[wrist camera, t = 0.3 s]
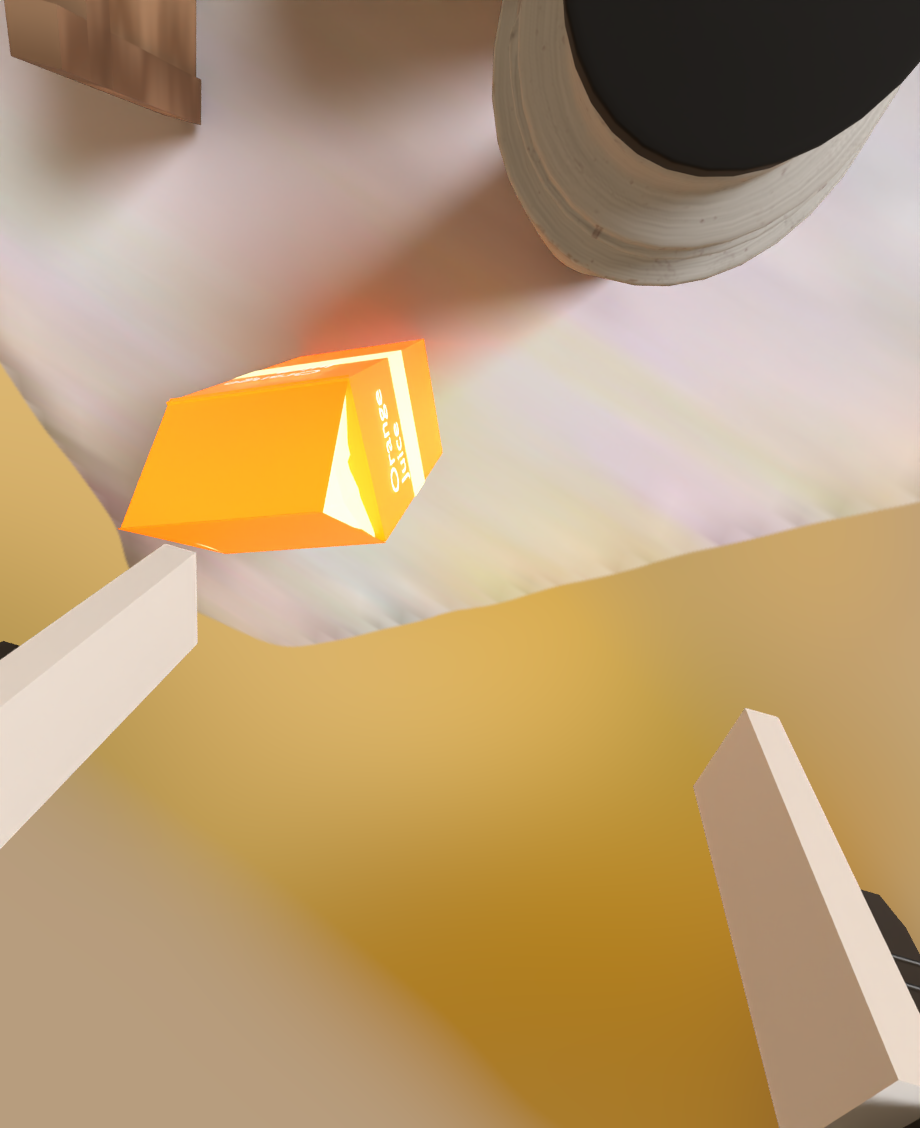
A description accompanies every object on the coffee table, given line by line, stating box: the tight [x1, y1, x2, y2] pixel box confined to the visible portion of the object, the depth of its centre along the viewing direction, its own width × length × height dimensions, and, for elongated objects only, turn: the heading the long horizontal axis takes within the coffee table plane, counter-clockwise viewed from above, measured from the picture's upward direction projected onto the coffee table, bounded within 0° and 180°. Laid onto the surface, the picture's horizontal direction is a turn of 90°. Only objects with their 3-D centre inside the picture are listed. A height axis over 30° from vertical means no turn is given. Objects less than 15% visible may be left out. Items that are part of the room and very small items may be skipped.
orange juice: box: [118, 339, 442, 554], centre depth 30 cm, size 8×9×20 cm
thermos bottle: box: [492, 0, 920, 286], centre depth 18 cm, size 8×8×28 cm
